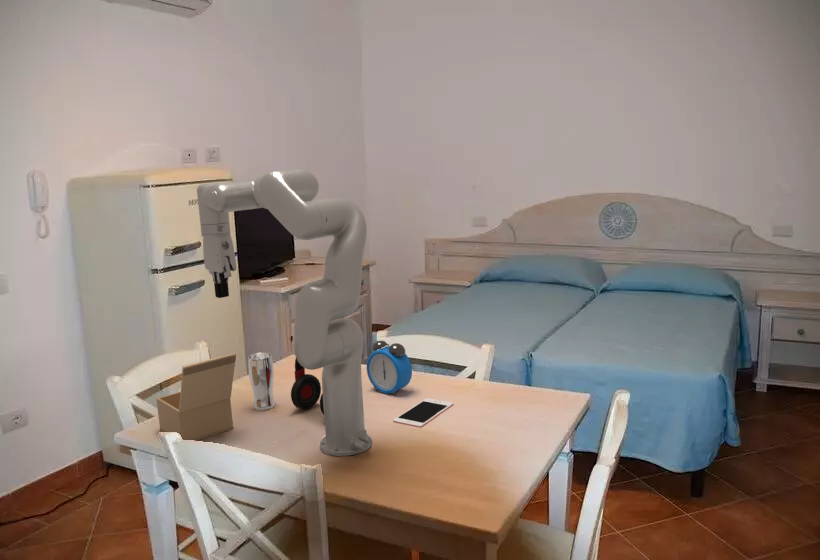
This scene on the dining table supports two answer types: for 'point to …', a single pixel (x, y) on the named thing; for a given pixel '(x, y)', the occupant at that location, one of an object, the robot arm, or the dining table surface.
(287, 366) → the dining table surface
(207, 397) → the lid
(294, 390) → the headphones
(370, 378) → the alarm clock
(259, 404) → the beer glass
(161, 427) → the carton
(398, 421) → the cell phone
